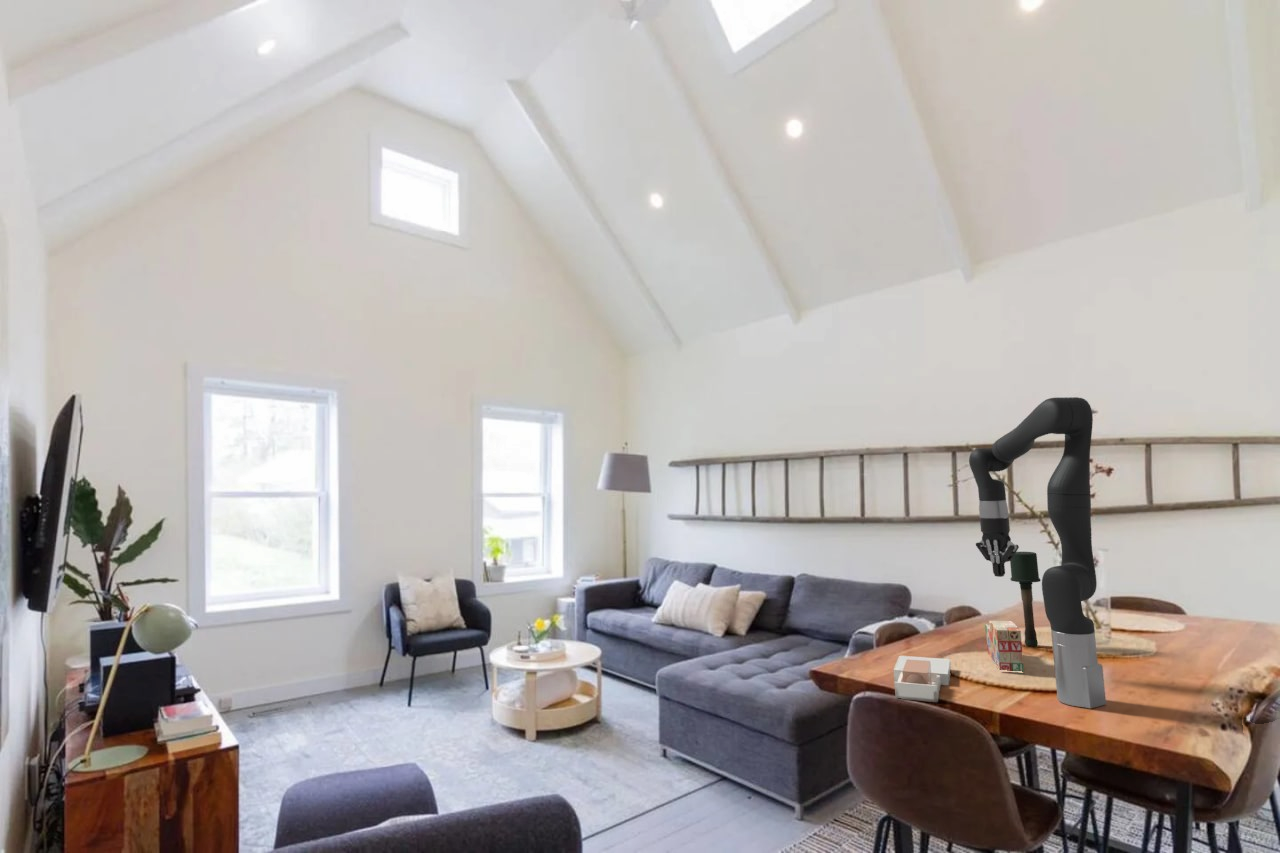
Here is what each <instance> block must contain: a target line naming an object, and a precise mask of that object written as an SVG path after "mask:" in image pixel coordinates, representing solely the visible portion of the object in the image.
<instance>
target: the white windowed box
mask: <svg viewBox="0 0 1280 853" xmlns="http://www.w3.org/2000/svg"><path fill="white" fill-rule="evenodd" d="M907 659H909V660H923V661H930V663H931V675H932V682H935V681H936V676H937V675H940V682H941V686H949V685H950V678H951V673H950V670H951V671H952V666H951V665H952V664H951V658H940V657H925V656H924V657H923V656H914V655H913V656H911V655H910V656H909V655H899V656H898V658H897V661H896V663H895V665H894V668H893V681H894V682H897V681H898V679H899V676H900V673H901V672H902V671H903V668H904V666H905V663H906V660H907Z"/></svg>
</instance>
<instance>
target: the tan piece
mask: <svg viewBox="0 0 1280 853" xmlns="http://www.w3.org/2000/svg"><path fill="white" fill-rule="evenodd" d="M902 672H903V682H905V683H917V684H929V685H932V675H931V663H930V661H923V660H909V659H907V660H906V663H905V666H904V668H903V671H902Z"/></svg>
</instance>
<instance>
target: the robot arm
mask: <svg viewBox="0 0 1280 853" xmlns="http://www.w3.org/2000/svg"><path fill="white" fill-rule="evenodd" d="M1093 418H1094V417H1093V410H1092V407H1091V404H1090V403H1089V401H1088V400H1087V399H1085V398H1083V397H1077V396H1076V397H1075V396H1074V397H1073V396H1071V397H1065V396H1064V397H1051V398H1047V399H1045V400H1043V401H1042V402H1040V404H1038V405H1037V406H1036V407H1035V408H1034V409H1033V410H1032V411H1031V412H1030V413H1029V414H1028V415H1027V416H1026V417H1025V418H1024V419H1023V420H1022V421H1021V422H1020V423H1019V424H1018V425H1017V426H1016V427H1014V429H1012V430H1010V431H1009V432H1008V433H1006V434H1004V435H1003V436H1001V437H1000V438H998V439H997V440H995V441H994V442H993V444H992V446H991V447H984V448H983V447H981V448H975V449H972V451H971V452H970V455H969V458H968V463H969V468H970V470H971V473H972V475H973V478H974V480H975V483H976V486H977V492H978V500H979V501H978V502H979V503H978V504H979V505H978V511H979V524H980V532H981V533H982V536H981V540H980V541H979V542H976V543H975V546H976V548H977V549H978V550H979V552H980V553H981V554H982V556H983V558H984V559H985V560H986V561H989V562H991V563H992V564H991V565H992V573H993V574H994V577H997V578H999V577H1004V576H1005V574H1006V568H1005V563H1008V562H1010V561H1011V559H1012V557H1013V556H1014V554H1015V553H1016V552H1018V550H1019V549H1020V548H1019V545H1018V544H1014V543H1013V542H1012V539H1011V537H1010V531H1011V528H1010V520H1009V519H1010V517H1009V516H1010V514H1009V506H1008V503H1007V495H1006V487H1005V486H1006V485H1005V482H1003V481H1002V480H999V479H995V478H993V477H992V476H991V474H990V473H991V472H992V473H993V472H995V473H996V472H997V473H998V472H1002V471H1005V470H1007V469H1008V468H1009V467H1010V466H1011V465H1012V464H1013V462H1014V461H1015V460H1017V459H1018V458H1020V457H1022V456H1024V455H1026V453H1028V452H1029V451H1030V450H1031V449H1033V446H1034V444H1035V440H1036V439H1038V438H1040V437H1043V436H1046V435H1047V436H1048V435H1050V434H1053V435H1064V448H1063V454H1062V457H1061V458H1060V461H1059V462H1058V464H1057V466H1056V467H1055V469H1054V471H1053V473H1052V474H1051V476H1050V478H1049V480H1048V483H1047V488H1046V494H1047V497H1046V498H1047V501H1046V502H1047V512H1048V516H1049V519H1050V521H1051V523H1052V525H1053V528H1054V530H1055V531H1056V533H1057V536H1058V538H1059V541H1060V546H1061V563H1060V564H1061V565H1057V566H1051V567H1049V568H1048V569H1046V570H1045V571H1044V573H1043V575H1042V579H1041V590H1042V598H1043V605H1044V611H1045V615H1046V618H1047V620H1048V622H1049V624H1050V633H1051V643H1052V655H1053V663H1054V665H1053V666H1054V675H1055V677H1054V678H1055V686H1056V687H1055V688H1056V694H1057V696H1056V697H1057V700H1058V701H1059V702H1060V703H1063V704H1065V705H1068V706H1073V707H1078V708H1081V707H1082V708H1086V709H1094V708H1098V707H1101V706H1105V705H1107V699H1106V698H1107V697H1106V689H1105V680H1104V679H1105V678H1104V668H1103V665H1102V664H1101V663H1099V661H1098V653H1097V652H1098V651H1097V642H1096V641H1097V639H1096V632H1095V622H1094V621H1093V620H1092V619H1091V618H1090V617H1087V616H1086V615H1085V614H1084V612H1083V607H1082V606H1083V605H1082V602H1085V601H1087V600H1089V599H1091V598H1092V597H1093V596H1094V595H1095V593H1096V590H1097V574H1096V567H1095V562H1094V561H1095V560H1094V554H1093V546H1092V544H1093V542H1092V541H1093V540H1092V520H1091V518H1092V517H1091V515H1092V512H1091V511H1092V498H1091V484H1090V483H1091V482H1090V481H1091V480H1090V478H1091V477H1090V474H1091V473H1090V472H1091V471H1090V470H1091V468H1090V466H1091V465H1090V464H1091V463H1090V462H1091V460H1090V458H1091V445H1092V436H1093V435H1092V434H1093Z"/></svg>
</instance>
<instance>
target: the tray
mask: <svg viewBox="0 0 1280 853" xmlns="http://www.w3.org/2000/svg"><path fill="white" fill-rule="evenodd" d="M941 686H942V685H941V682H940V675H937V676H936V681H935V682H932V685H929V684H917V683H905V682H903V672H901V673H900V676H899V679H898V681H894V693H895V694H894V695H895V699H898V698H901V699H900V700H911V701H919V702H920V701H922V702H929V703H931V702H932V703H938V702H939V697H940V692H939V691H941Z"/></svg>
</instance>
